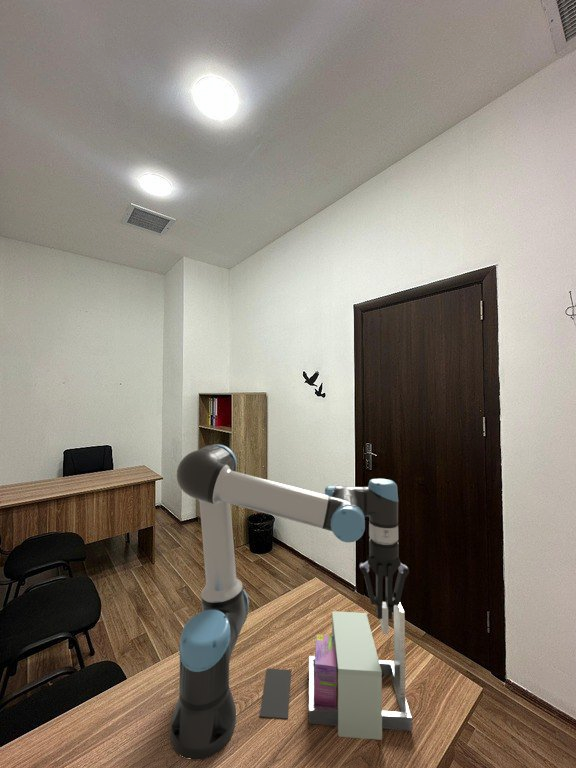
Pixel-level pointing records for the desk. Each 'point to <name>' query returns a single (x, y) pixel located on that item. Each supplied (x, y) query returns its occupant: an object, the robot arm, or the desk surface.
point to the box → (325, 671)
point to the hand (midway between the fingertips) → (384, 630)
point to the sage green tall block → (357, 677)
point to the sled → (388, 668)
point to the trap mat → (276, 694)
